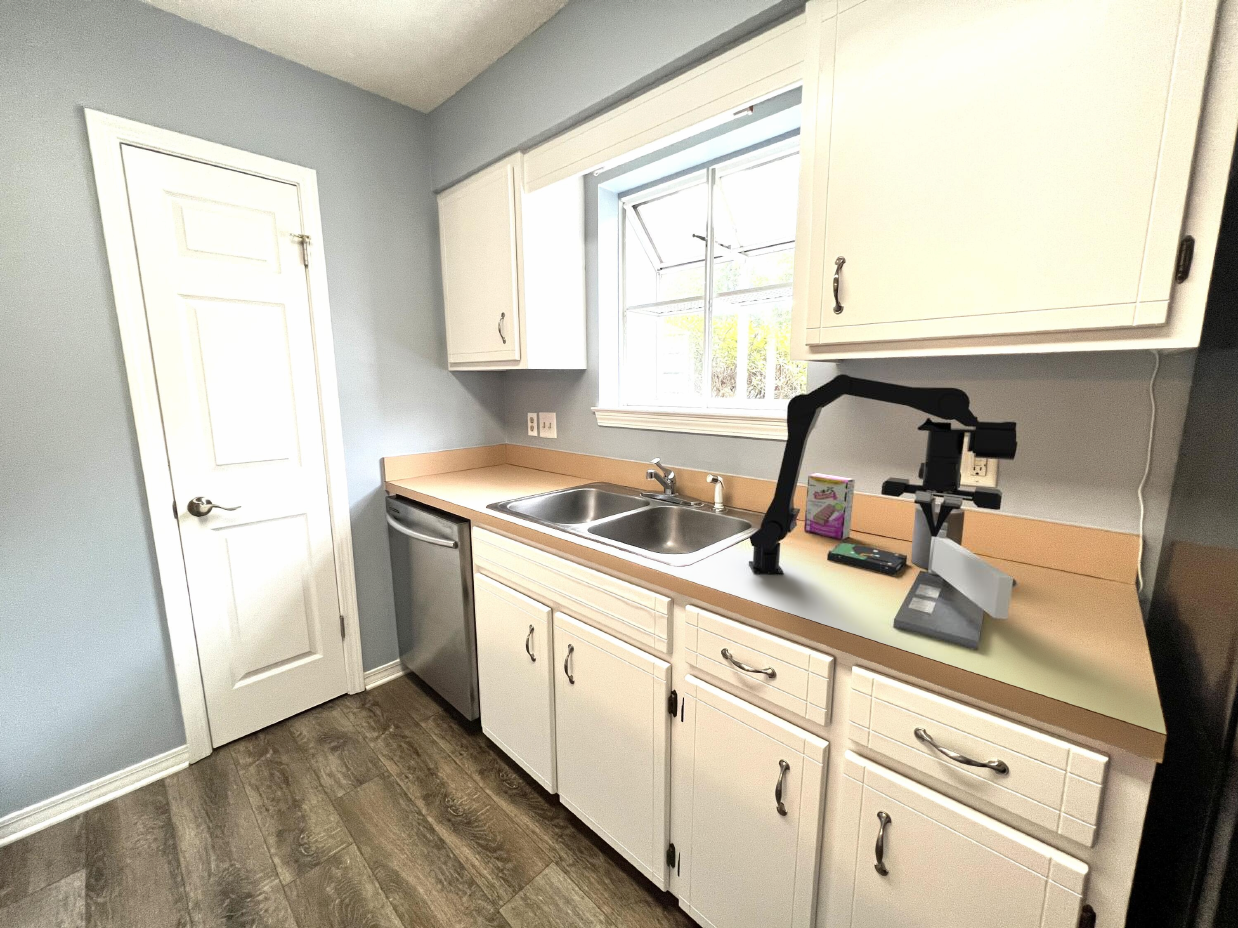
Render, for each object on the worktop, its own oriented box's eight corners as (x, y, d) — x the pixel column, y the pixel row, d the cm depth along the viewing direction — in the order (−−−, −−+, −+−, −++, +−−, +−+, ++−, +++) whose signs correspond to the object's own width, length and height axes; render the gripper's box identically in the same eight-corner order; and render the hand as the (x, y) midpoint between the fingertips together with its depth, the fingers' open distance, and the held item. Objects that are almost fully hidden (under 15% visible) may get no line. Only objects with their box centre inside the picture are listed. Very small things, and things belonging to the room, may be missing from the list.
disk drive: (906, 566, 118) (841, 551, 127) (907, 555, 117) (842, 540, 127) (894, 579, 110) (826, 561, 120) (896, 566, 110) (827, 550, 119)
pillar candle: (963, 564, 117) (970, 502, 115) (952, 575, 110) (960, 509, 108) (916, 554, 124) (922, 495, 122) (904, 564, 117) (909, 502, 115)
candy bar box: (803, 531, 142) (807, 474, 139) (811, 528, 145) (815, 472, 143) (842, 540, 134) (847, 480, 131) (850, 536, 137) (855, 478, 135)
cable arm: (925, 570, 105) (930, 528, 104) (945, 571, 105) (950, 529, 103) (991, 623, 82) (999, 571, 81) (1018, 625, 82) (1025, 572, 80)
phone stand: (893, 626, 87) (900, 555, 85) (919, 576, 110) (925, 519, 107) (977, 650, 80) (987, 572, 78) (987, 591, 102) (995, 529, 100)
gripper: (1007, 455, 94) (996, 535, 96) (895, 446, 105) (888, 518, 108) (1006, 463, 85) (994, 551, 88) (884, 452, 96) (877, 530, 99)
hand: (934, 536), depth 96 cm, fingers closed
